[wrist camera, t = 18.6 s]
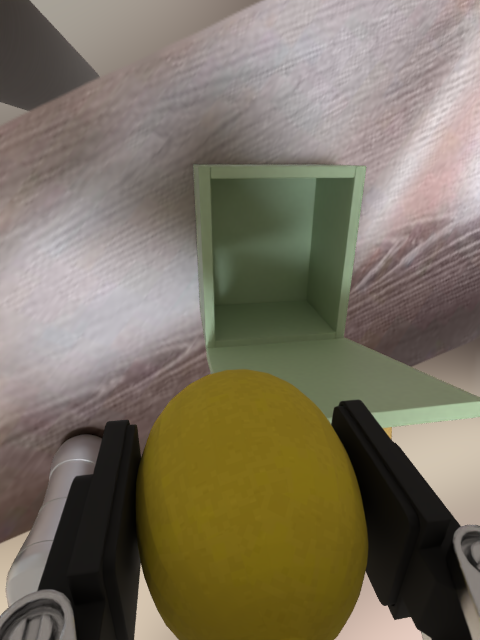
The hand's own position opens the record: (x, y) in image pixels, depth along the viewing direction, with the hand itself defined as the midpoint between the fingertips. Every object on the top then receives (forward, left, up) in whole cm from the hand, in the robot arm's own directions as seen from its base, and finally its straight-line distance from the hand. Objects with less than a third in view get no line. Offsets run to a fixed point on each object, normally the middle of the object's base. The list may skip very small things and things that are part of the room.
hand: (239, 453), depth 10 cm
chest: (0, +6, -27) cm, 28 cm away
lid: (+4, +6, -11) cm, 13 cm away
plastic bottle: (+24, -14, -28) cm, 39 cm away
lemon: (0, 0, -3) cm, 3 cm away
